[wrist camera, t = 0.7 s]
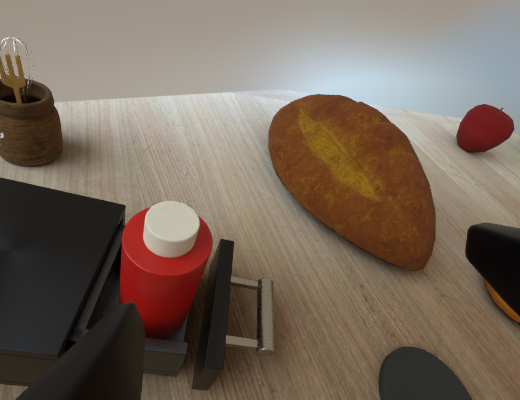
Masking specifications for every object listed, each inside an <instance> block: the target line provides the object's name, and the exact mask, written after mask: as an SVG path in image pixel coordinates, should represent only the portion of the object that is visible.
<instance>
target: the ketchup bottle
mask: <svg viewBox="0 0 520 400" xmlns="http://www.w3.org/2000/svg"><path fill="white" fill-rule="evenodd" d="M212 244H213V241H212V235H211V232H210V230H209V228H208V226H207V224H206V223H205V222H204V221H203V220H202V219H201V218H200V217H199V216H198V215H197V213H196V212H195V211H194V210H193V209H192V208H191V207H189V206H188V205H186V204H184V203H181V202H176V201H164V202H160V203H158V204H155V205H154V206H152V207H150V208H147V209H145V210H142V211H140V212H139V213H137V214H136V215H134V216H133V217H132V218H131V219H130V220H129V222H128V223H127V224H126V226H125V228H124V231H123V235H122V250H121V272H120V293H119V304H123V303H127V302H134V303H135V304H136V306H137V309H138V311H139V314H140V317H141V319H142V322H143V324H144V328H145V337H150V338H157V339H163V338H166V337H168V336H170V335H172V334H173V333H175V332H176V331H177V330H178V329H179V328H180V327H181V326H182V325H183V323H184V322H185V320H186V317H187V315H188V312H189V309H190V307H191V304H192V301H193V299H194V296H195V293H196V291H197V288H198V285H199V283H200V280H201V277H202V275H203V272H204V269H205V267H206V264H207V261H208V259H209V256H210V253H211V250H212Z"/></svg>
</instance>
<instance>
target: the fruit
mask: <svg viewBox="0 0 520 400" xmlns="http://www.w3.org/2000/svg"><path fill="white" fill-rule="evenodd" d="M485 283H486V286H487V289H488V291H489V293H490V295H491V297H492V299H493V300H494V302H495V303H496V304H497V305H498V306H499V307H500V308H501V309H502V310H503V311H504V312H505V313H506V314H507V315H508V316H509V317H511V318H512V319H513V320H515V321H516V322H518V323H519V324H520V317H519V316H518V315H517V314H516V313H515V312H514V311H513V310H512V309H511V308H510V307H509V306H508V305H507V304H506V303H505V301H504V300H503V299H502V298H501V297H500V296H499V295H498V294H497V293H496V291H495V290H494V289H493V288H492V287H491V286H490V285H489V283H488V282H487V281H486V280H485Z"/></svg>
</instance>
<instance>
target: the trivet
mask: <svg viewBox="0 0 520 400" xmlns="http://www.w3.org/2000/svg"><path fill="white" fill-rule="evenodd" d="M379 392H380V397H381V400H472V399H471V397H470V395H469V393H468V392H467V390H466V388H465V387H464V385H463V384H462V383H461V381H460V380H459V379H458V377H457V376H456V375H455V374H454V373H453V371H452V370H451V369H450V368H449V367H448V366H447V365H445V364H444V363H443V362H442V361H441V360H439V359H438V358H437V357H435V356H434V355H432V354H431V353H429V352H427V351H425V350H422V349H419V348H415V347H402V348H399V349H397V350H395V351H393V352H392V353H390V354H389V355H388V356H387V357H386V358H385V360H384V361H383V363H382V366H381V369H380V374H379Z"/></svg>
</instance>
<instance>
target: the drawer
mask: <svg viewBox="0 0 520 400" xmlns="http://www.w3.org/2000/svg"><path fill="white" fill-rule="evenodd" d="M124 228H125V225H120V224H119V226H118V228H117V231H116V233H115V235H114V237H113V240H112V242H111V244H110V246H109V249H108V251H107V253H106V255H105V258H104V260H103V262H102V264H101V267H100V269H99V271H98V273H97V276H96V278H95V280H94V282H93V284H92V287H91V289H90V291H89V293H88V296H87V298H86V300H85V302H84V305H83V307H82V309H81V311H80V314H79V316H78V318H77V320H76V323H75V325H74V327H73V329H72V332H71V334H70V336H69V338H68V340H67V347H68V350H69V349H70V348H71V347H72V346H73V345H74V344H75V343H76V342H77V341H78V340H79V339H80V338H82V337H83V336H84V335H85V334H86V333H87V332H88V331H89V330H90V329H91V328H92V327H93V326H94V325H95V324H96V323H97V322H99V321H100V320H101V319H102V318H103V317H104V316H105V315H106V314H107V313H108V312H109V311H110V310H111V309H112V308H113V307H115V306H116V305H118V304H119V293H120V272H121V250H122V235H123V231H124ZM233 249H234V241H229V240H224V239H221V240H220V242H219V245H218V247H217V250H216V252H215V255H214V258H213V260H212V263H211V265H210V268H209V273H208V280H207V287H206V294H205V301H204V308H203V315H202V321H201V328H200V335H199V342H198V349H197V356H196V362H195V369H194V376H193V383H192V389H199V390H208V389H209V388H210V387H211V385H212V384H213V382H214V381H215V380H216V378H217V377H218V376H219V374H220V373H221V371H222V370H223V368H224V356H225V346H227V347H235V348H242V349H249V350H256V353H257V355H260V356H272V355H274V354H275V333H274V297H273V281H272V280H271V279H269V278H261V279H259V280H258V281H255V280H250V279H245V278H239V277H234V276H231V273H232V261H233ZM230 285H231V286H236V287H242V288H248V289H253V290H257V329H256V339H249V338H242V337H235V336H228V335H226V332H227V320H228V309H229V297H230ZM189 311H190V309H189ZM188 317H189V312H188V315H187V317H186V320H185V322H184V323H183V325H182V326H181V327H180V328H179V329H178V330H177V331H176V332H175V333H173V334H172V335H170V336H168V337H166V338H163V339H157V338H150V337H145V350H144V364H143V373H149V374H158V375H167V376H177V375H178V372H179V370H180V368H181V366H182V363H183V361H184V359H185V357H186V355H187V349H188V343H186V342H184V339H185V333H186V328H187V322H188Z"/></svg>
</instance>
